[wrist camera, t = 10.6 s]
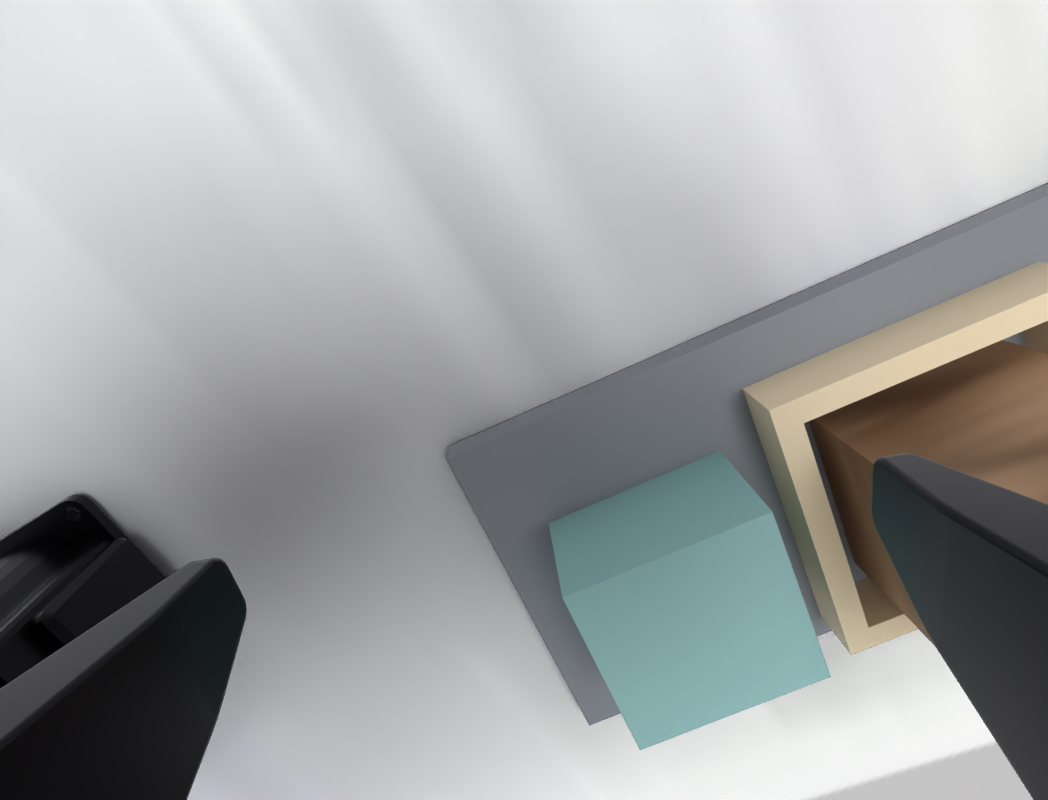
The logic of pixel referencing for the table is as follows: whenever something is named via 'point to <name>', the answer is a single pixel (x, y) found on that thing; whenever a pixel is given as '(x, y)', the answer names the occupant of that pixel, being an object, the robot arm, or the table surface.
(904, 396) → the pillar
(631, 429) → the board
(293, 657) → the table surface
